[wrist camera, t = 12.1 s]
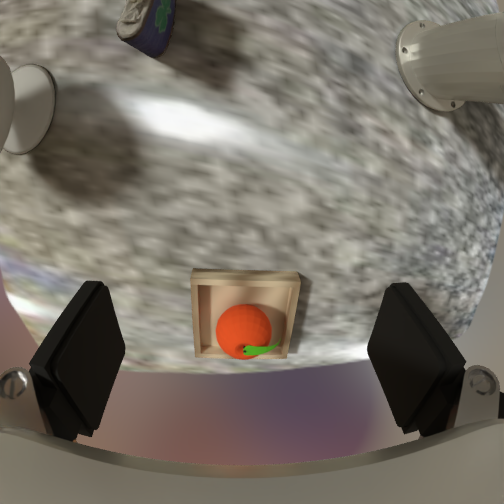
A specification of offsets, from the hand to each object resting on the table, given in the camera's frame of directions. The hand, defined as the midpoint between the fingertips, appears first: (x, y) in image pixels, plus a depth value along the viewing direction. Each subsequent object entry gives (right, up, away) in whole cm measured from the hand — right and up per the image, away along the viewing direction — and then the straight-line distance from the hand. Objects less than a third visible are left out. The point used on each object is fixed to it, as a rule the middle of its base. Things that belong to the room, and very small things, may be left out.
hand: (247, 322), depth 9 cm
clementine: (-1, -6, +29) cm, 30 cm away
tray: (-1, -6, +30) cm, 31 cm away
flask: (-10, +27, +14) cm, 32 cm away
